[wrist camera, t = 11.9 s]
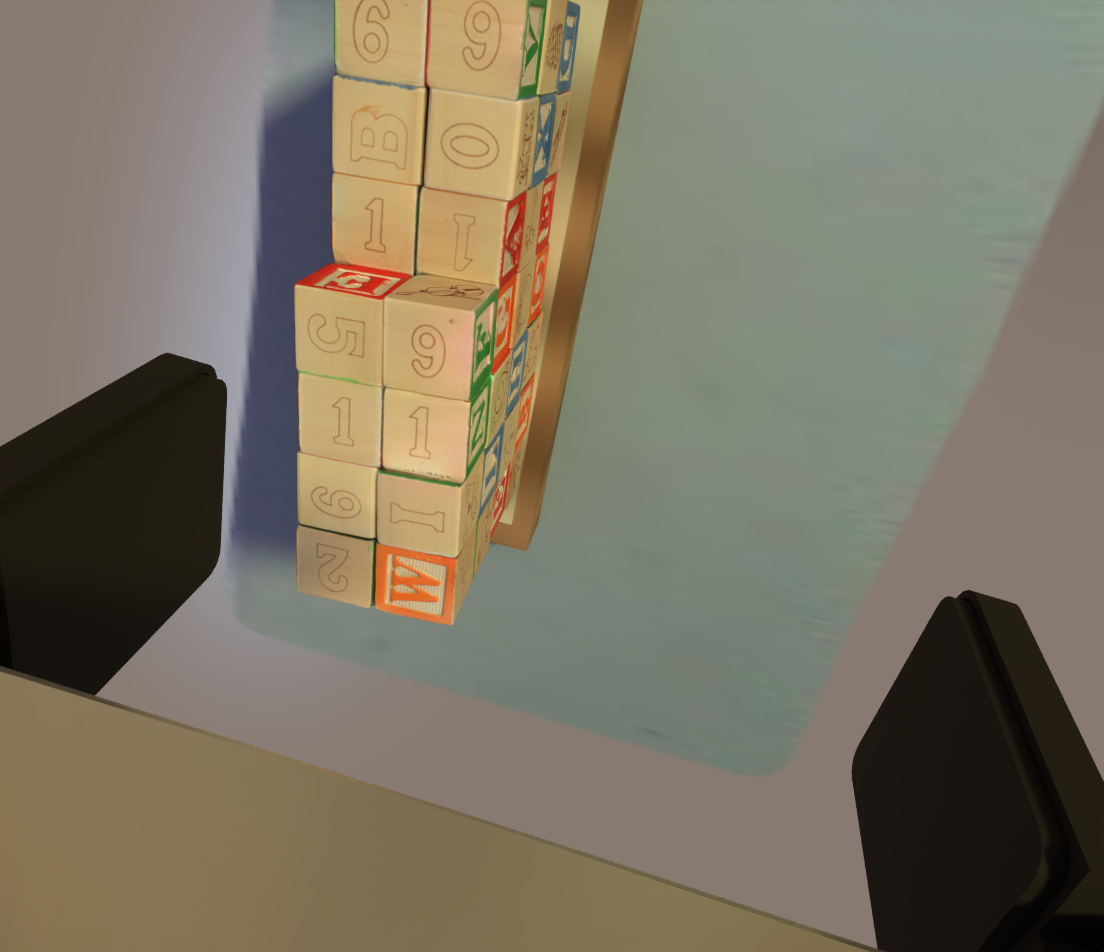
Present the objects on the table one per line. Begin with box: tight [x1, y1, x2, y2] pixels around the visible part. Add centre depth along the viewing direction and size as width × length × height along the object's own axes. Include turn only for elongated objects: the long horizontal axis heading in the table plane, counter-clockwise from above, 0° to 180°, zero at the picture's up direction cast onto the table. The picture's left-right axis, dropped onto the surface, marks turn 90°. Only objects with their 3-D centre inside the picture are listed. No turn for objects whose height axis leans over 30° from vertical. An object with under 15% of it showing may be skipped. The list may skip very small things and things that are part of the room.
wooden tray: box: [490, 0, 643, 551], centre depth 40 cm, size 27×9×3 cm, turn 169°
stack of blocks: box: [294, 0, 580, 625], centre depth 33 cm, size 21×6×12 cm, turn 172°
